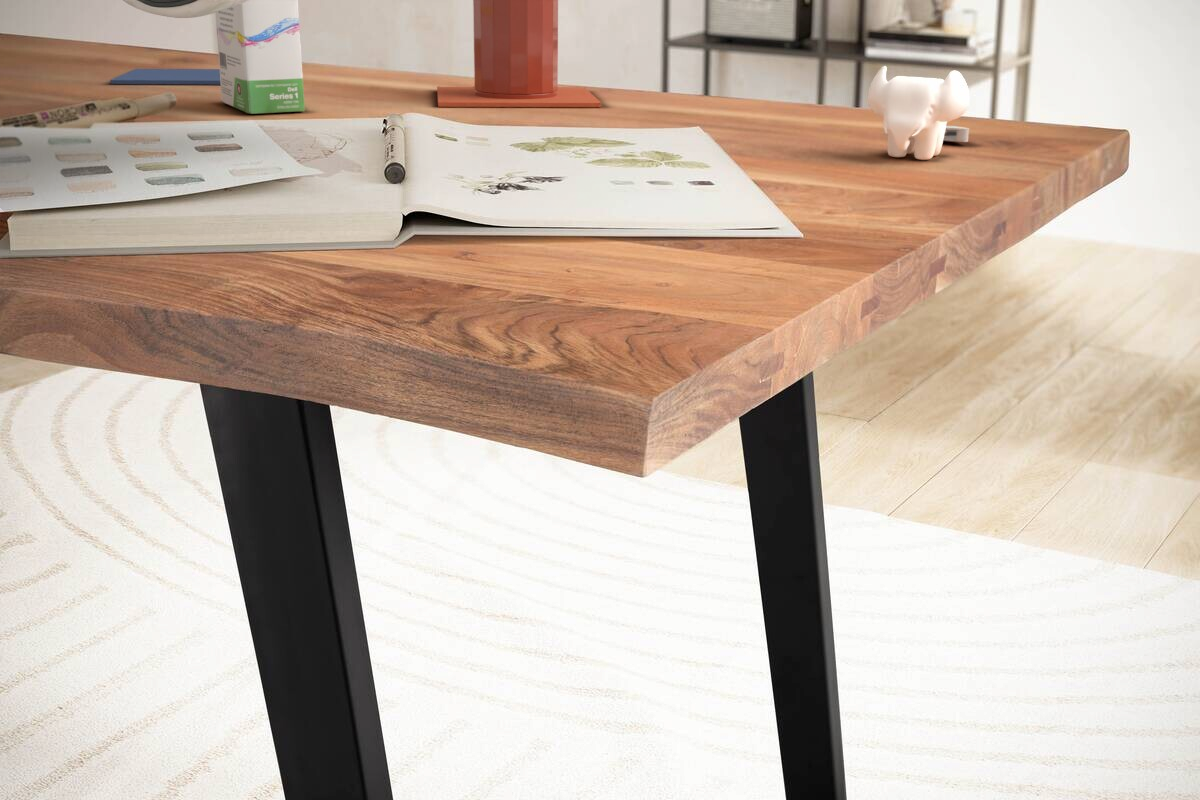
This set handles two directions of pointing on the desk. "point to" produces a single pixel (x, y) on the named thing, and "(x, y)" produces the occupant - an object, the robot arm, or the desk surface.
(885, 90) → the elephant figurine
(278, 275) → the desk surface
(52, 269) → the desk surface
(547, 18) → the terracotta cup
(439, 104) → the terracotta mat
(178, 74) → the blue mat
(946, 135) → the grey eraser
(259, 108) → the ink box
